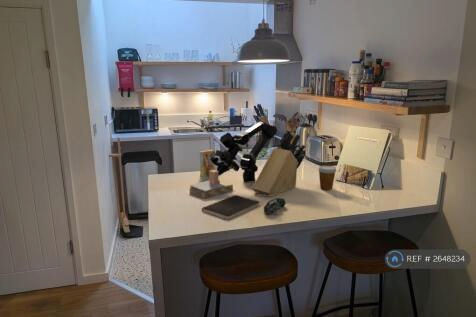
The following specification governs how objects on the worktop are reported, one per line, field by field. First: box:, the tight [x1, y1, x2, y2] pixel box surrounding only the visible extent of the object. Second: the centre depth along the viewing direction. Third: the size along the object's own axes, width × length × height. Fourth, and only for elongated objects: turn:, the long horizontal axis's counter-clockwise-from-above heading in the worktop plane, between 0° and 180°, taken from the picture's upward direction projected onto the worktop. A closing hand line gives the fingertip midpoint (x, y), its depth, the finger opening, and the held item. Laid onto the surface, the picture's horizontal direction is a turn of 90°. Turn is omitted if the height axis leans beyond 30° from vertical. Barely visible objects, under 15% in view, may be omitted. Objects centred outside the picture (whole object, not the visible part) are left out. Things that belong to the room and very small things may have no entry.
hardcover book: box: [201, 194, 261, 220], centre depth 162 cm, size 16×23×2 cm
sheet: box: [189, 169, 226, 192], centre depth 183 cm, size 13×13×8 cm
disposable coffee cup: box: [317, 165, 337, 191], centre depth 189 cm, size 10×10×12 cm
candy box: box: [199, 149, 216, 177], centre depth 217 cm, size 9×4×15 cm, turn 129°
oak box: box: [189, 179, 234, 199], centre depth 186 cm, size 20×12×3 cm, turn 134°
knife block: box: [251, 129, 306, 197], centre depth 188 cm, size 11×35×31 cm, turn 138°
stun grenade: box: [263, 197, 286, 216], centre depth 158 cm, size 6×6×14 cm
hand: (216, 176), depth 187 cm, fingers closed, pressing on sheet
